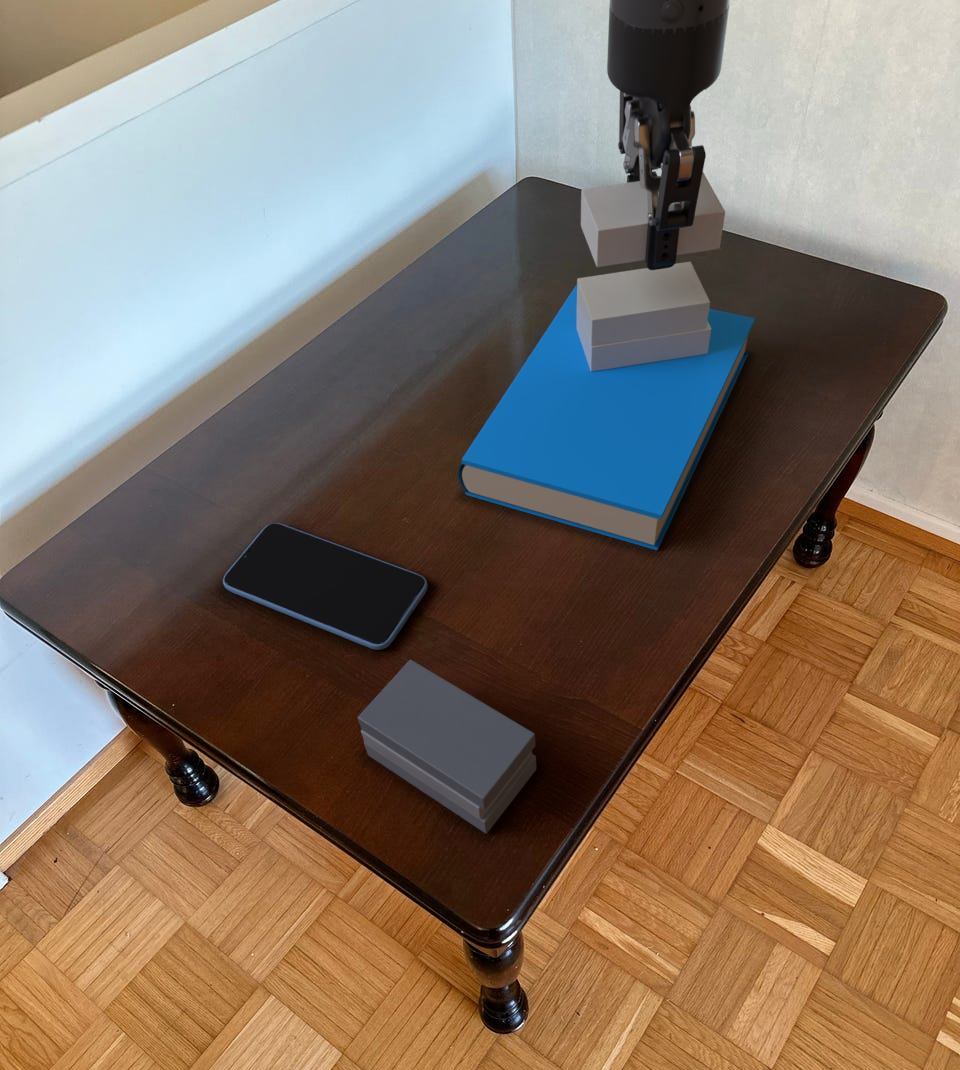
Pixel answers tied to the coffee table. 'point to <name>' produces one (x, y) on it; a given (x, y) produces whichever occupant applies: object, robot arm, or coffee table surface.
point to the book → (604, 432)
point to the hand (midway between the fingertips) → (649, 242)
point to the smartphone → (326, 585)
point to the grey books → (448, 744)
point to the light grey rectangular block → (642, 316)
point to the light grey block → (642, 223)
